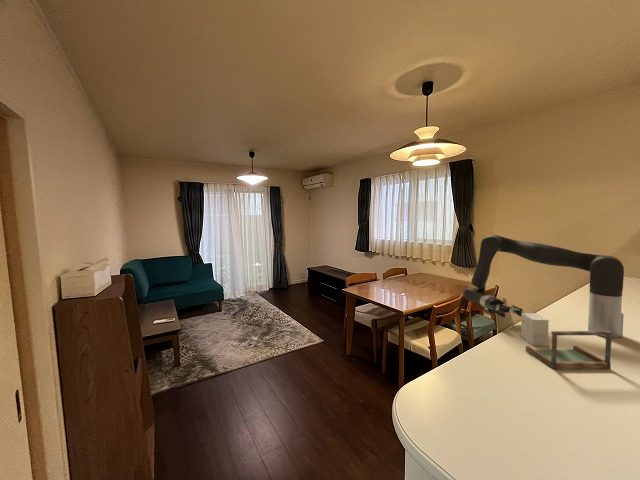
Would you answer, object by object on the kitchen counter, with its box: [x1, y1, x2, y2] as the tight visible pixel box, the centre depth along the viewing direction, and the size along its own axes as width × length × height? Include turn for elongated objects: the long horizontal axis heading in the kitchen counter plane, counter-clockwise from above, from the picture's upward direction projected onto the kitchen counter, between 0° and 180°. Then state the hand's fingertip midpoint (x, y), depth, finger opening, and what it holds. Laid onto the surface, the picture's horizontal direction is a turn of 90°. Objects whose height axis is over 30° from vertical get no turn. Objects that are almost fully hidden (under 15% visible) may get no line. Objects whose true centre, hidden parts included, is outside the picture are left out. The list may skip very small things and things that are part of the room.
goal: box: [525, 330, 613, 370], centre depth 90 cm, size 18×12×12 cm, turn 87°
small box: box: [520, 312, 550, 347], centre depth 104 cm, size 8×6×10 cm
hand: (514, 315), depth 115 cm, fingers open, 8 cm apart
